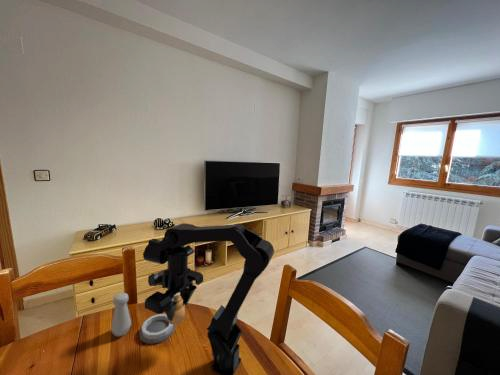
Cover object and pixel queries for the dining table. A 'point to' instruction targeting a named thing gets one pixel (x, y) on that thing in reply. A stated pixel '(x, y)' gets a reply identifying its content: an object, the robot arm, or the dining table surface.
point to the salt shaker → (120, 315)
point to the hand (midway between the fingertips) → (176, 314)
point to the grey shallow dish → (156, 329)
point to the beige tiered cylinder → (178, 311)
